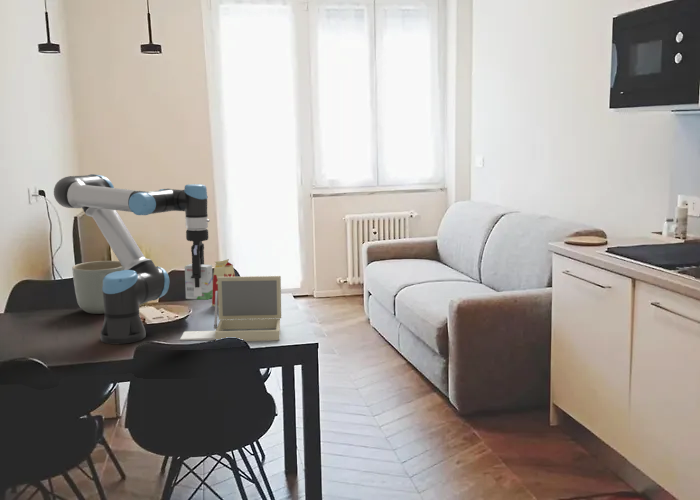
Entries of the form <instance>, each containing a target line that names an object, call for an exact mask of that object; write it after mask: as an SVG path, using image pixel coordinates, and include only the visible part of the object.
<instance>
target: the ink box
mask: <svg viewBox="0 0 700 500" xmlns="http://www.w3.org/2000/svg"><path fill="white" fill-rule="evenodd" d="M191 276H192V263H189V264H187V265H185V266H184V283H185V286H184V287H185V288H184V289H185V300H186V299H187V300H204V301H205V300H206V301H208V300H210V299H212V297H213V265H212V264H204V265H203V264H201V279H202V296H194V285H193V278H191Z"/></svg>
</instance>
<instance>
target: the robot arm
mask: <svg viewBox="0 0 700 500" xmlns="http://www.w3.org/2000/svg"><path fill="white" fill-rule="evenodd" d="M53 195H54V196H53V197H54V199H55V202H57V203H58V204H59V205H60V206H62V207H64V208H67V209H82V211H83V212H84V214H85V216H87V217H92V219H93V220H94V221H95V223H96V225H97V227H98V229H99V230H100V232H101V234H102V235H103V237H104V239H105V240H106V242H107V244H108V245H109V247H110V248H111V250H112V251H113V254H115V257H116V259H117V261H119V262H120V263H121V265H122V267H123V268H124V270H121V271H116V272H112V273H110V274H108V275H106V276H105V277H104V279H103V287H102V290H103V300H104V314H103V315H104V320H103V323H102V327H101V330H100V337H99V338H100V341H101V343H102V342H103V343H104V344H109V345H125V344H129V343H135V342H139V341H142V340H143V339H145V338H146V336H147V335H146V328H145V326H144V323H143V320H142V319H141V318H142V317H141V316H140V305H142V304H146V303H149V302H151V301H156V300H158V299H160V298H162V297H163V296H165V295H166V294H167V293H168V291H169V288H170V282H171V281H170V277H169V274H168V272H167V270H166V269H165V268H163V267H161V266H156V265H155V263H154V262H153V260H152V259H151V258H146V256H145V254H143V252H142V250H141V248H140V247H139V246H138V244H137V241H135V239H134V236H132V234H131V232H130V230H129V229H128V227H127V225H126V224H125V222H124V220H123V219H122V217H121V215H120V214H119V213H118V211H119V212H120V211H121V212H128V213H133V214H134V215H136V216H149V215H155V214H160V213H166V212H168V213H169V212H185V217H184V218H185V229H186V230H185V231H186V232H185V237H186V241H188V242H192V245H191V247H190V251H191V264H192V276H191V278H193V285H194V296H202V279H201V264H203V265H205V251H204V250H205V243H203V242H205V241H208V240H209V229H208V228H209V222H210V219H208V218H209V217H208V192H207V186H206V184H202V183H197V184H195V183H192V184H189V183H188V184H186V185H184V189H174V188H173V189H172V188H162V189H158V190H153V191H152V190H151V191H145V190H135V189H134V190H133V189H126V188H117V187H115V186H114V185H113V182H112V181H111V180H110V179H109V178H108V177H106V176H105V175H102V174H88V175H68V176H65V177H63V178H61V179H59V180H58V181H57V182H56V184H55V186H54V188H53Z"/></svg>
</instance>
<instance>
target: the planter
mask: <svg viewBox="0 0 700 500" xmlns="http://www.w3.org/2000/svg"><path fill="white" fill-rule="evenodd" d="M121 270H124V268H123V267H122V265H121V263H120V262H119V260H97V261H88V262H82V263H77V264H75V265H73V266H72V279H73V285H74V293H75V297H76V302H77V305H78V306H79V308H80V309H81V310H82V311H84V312H85V313H87V314H92V315H105V314H104V300H103V290H102V287H103V279H104V277H105V276H106V275H108V274H110V273H112V272H116V271H121Z"/></svg>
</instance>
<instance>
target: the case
mask: <svg viewBox="0 0 700 500" xmlns="http://www.w3.org/2000/svg"><path fill="white" fill-rule="evenodd" d="M281 281H282V277H281V275H263V276H262V275H258V276H251V275H250V276H247V275H246V276H245V275H244V276H235V277H218V291H216V292H215V306H214V319H213V320H214V323H213V329H214V330H215V331H216V332H215V338H216V339H221V338H226V337H236V338H240V339H243V340H246V341H245V342H261V341H262V342H263V341H280V337H281V333H280V332H281V319H282V284H281V283H282V282H281ZM217 306H219V307H217ZM218 320H219V321H218Z"/></svg>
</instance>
